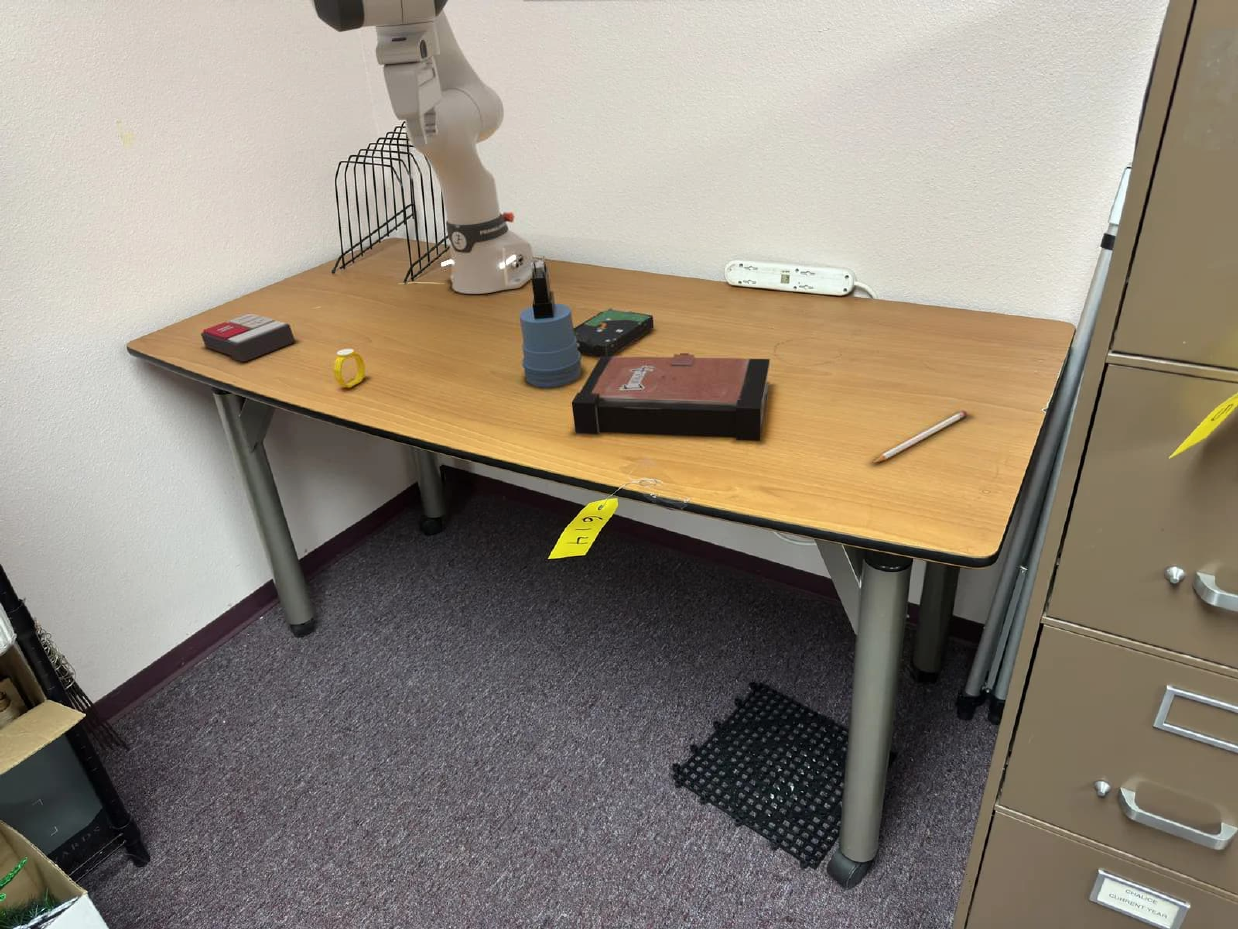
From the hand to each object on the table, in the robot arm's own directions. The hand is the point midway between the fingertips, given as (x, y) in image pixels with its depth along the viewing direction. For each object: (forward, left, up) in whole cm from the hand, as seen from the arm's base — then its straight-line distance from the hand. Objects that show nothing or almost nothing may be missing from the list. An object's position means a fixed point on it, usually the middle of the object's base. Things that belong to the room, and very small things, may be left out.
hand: (426, 141), depth 132 cm
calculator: (+15, -42, -35) cm, 57 cm away
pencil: (+5, +82, -35) cm, 89 cm away
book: (+9, +47, -35) cm, 60 cm away
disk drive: (-10, +24, -35) cm, 44 cm away
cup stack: (+6, +23, -35) cm, 43 cm away
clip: (+6, +23, -24) cm, 34 cm away
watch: (+21, -8, -35) cm, 42 cm away
